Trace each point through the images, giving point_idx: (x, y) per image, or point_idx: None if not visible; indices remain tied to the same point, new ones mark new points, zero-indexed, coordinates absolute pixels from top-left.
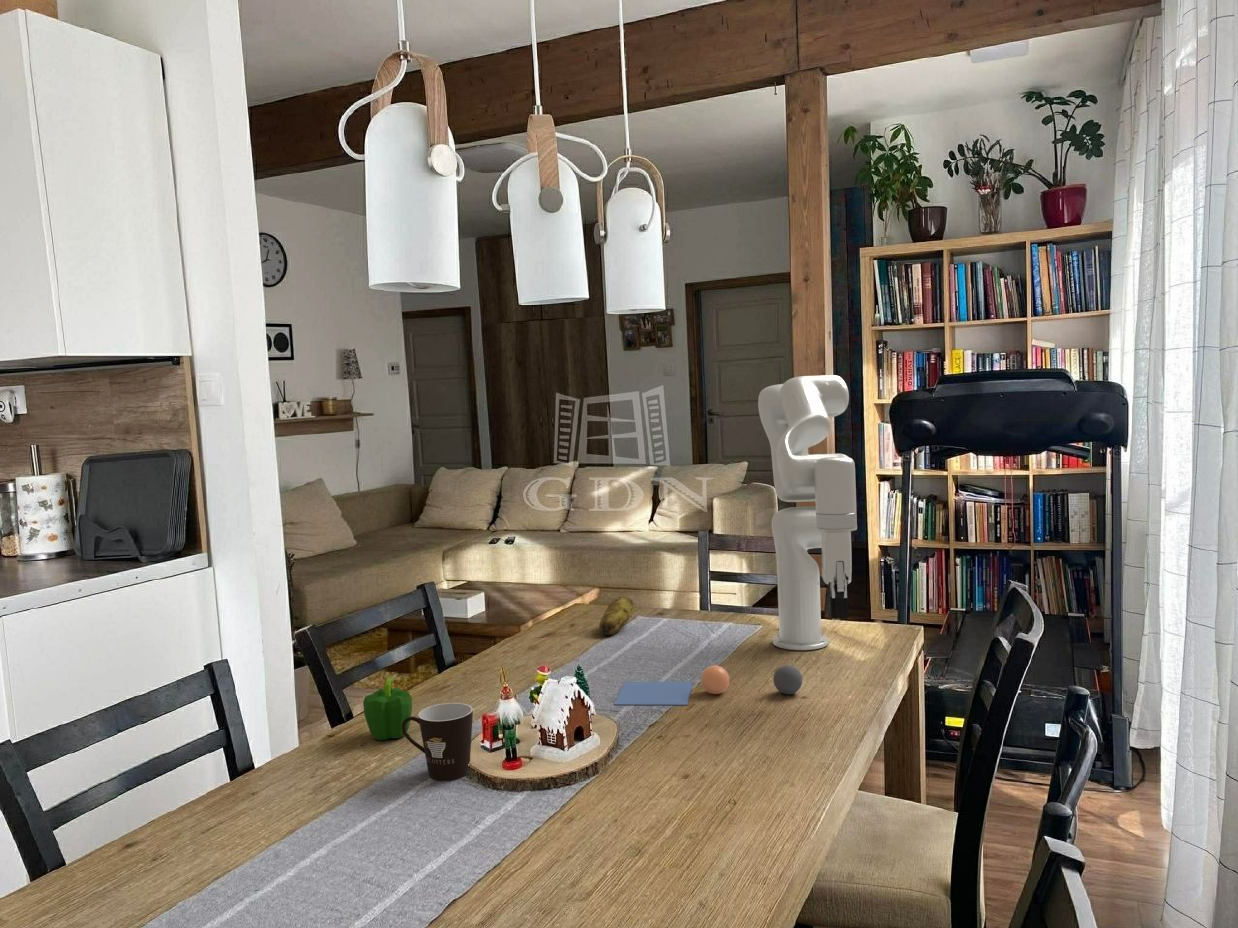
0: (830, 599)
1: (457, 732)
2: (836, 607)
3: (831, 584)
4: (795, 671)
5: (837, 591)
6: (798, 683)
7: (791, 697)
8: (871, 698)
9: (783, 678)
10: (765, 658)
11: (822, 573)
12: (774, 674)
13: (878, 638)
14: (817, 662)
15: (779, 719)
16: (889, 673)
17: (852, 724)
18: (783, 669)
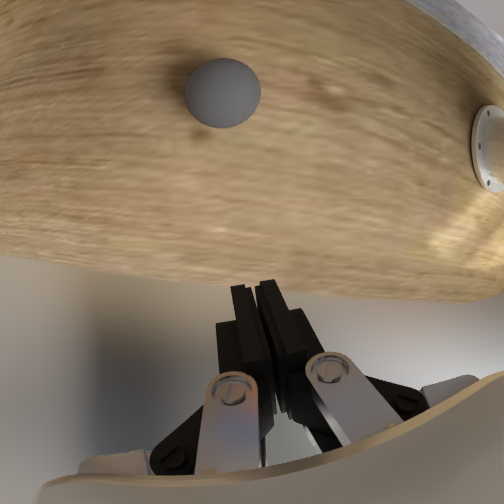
0: (255, 350)
1: None
2: (218, 349)
3: (342, 430)
4: (207, 110)
5: (97, 456)
6: (199, 121)
7: None
8: (214, 270)
9: (187, 84)
10: (437, 74)
11: (438, 470)
12: (217, 59)
13: (491, 260)
14: (425, 164)
15: (64, 115)
16: (362, 289)
17: (71, 245)
18: (205, 78)
